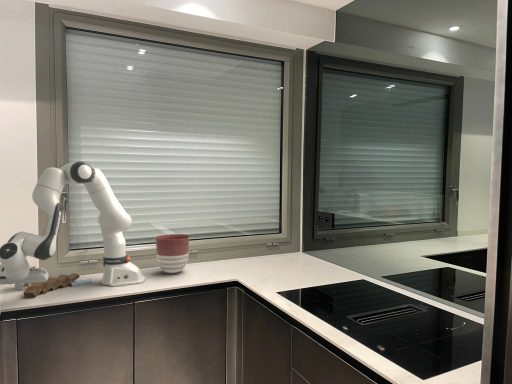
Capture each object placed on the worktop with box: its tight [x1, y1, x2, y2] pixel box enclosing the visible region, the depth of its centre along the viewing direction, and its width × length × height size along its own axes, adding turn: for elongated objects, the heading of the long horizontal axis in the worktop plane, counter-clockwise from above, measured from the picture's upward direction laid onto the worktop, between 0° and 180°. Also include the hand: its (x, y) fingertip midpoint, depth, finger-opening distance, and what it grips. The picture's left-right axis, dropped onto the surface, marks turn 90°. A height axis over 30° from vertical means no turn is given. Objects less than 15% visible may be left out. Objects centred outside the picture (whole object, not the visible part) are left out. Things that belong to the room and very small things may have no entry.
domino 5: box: [69, 278, 94, 287], centre depth 198 cm, size 2×5×10 cm
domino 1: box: [23, 282, 46, 299], centre depth 180 cm, size 3×5×10 cm
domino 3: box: [48, 273, 69, 291], centre depth 192 cm, size 2×5×10 cm
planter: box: [155, 233, 190, 274], centre depth 221 cm, size 20×20×21 cm
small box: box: [14, 265, 36, 291], centre depth 191 cm, size 8×6×10 cm
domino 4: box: [58, 272, 81, 289], centre depth 197 cm, size 2×5×10 cm
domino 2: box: [39, 276, 59, 295], centre depth 187 cm, size 2×5×10 cm
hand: (27, 285), depth 175 cm, fingers closed
